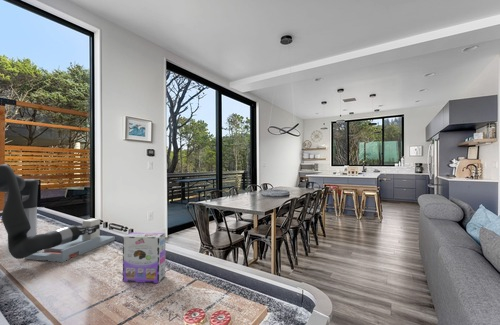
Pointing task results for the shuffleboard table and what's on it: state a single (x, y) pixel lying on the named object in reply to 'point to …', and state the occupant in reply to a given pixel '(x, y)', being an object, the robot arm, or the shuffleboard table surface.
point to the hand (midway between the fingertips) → (94, 226)
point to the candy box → (144, 257)
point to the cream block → (90, 223)
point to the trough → (71, 249)
